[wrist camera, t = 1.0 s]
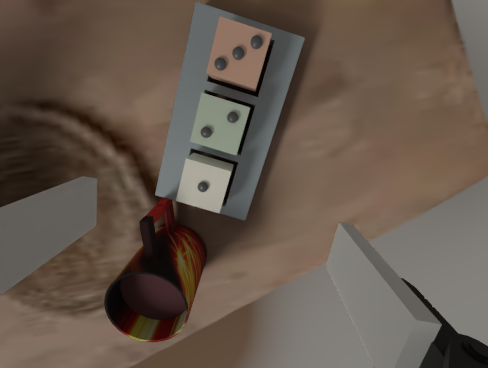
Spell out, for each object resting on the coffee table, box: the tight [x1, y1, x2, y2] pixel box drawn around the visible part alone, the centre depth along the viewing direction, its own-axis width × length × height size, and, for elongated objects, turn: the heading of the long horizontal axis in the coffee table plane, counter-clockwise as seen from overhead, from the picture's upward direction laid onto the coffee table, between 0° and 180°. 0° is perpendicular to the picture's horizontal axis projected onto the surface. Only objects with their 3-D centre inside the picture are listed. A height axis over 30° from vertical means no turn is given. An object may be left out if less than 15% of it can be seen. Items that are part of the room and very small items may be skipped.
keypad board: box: [155, 2, 305, 221], centre depth 33 cm, size 13×24×2 cm, turn 163°
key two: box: [190, 93, 250, 155], centre depth 30 cm, size 6×6×4 cm
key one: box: [176, 153, 234, 213], centre depth 32 cm, size 6×6×4 cm
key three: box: [206, 16, 272, 92], centre depth 28 cm, size 6×6×4 cm
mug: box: [104, 197, 207, 342], centre depth 34 cm, size 10×14×12 cm
